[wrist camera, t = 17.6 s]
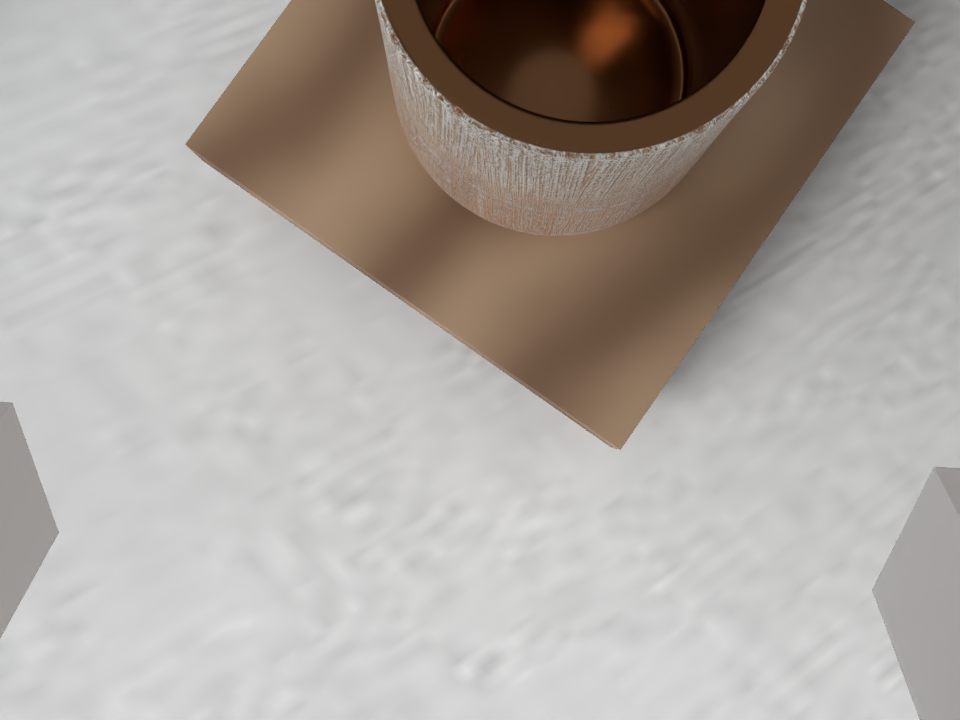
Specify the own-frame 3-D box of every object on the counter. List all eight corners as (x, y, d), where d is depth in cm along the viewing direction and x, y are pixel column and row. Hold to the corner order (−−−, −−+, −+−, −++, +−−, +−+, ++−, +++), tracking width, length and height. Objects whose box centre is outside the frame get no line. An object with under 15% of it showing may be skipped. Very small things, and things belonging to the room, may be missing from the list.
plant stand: (225, 181, 35) (185, 144, 30) (486, -175, 36) (489, -269, 31) (598, 444, 35) (620, 449, 30) (853, 76, 36) (914, 22, 31)
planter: (616, -123, 31) (682, -360, 22) (768, 149, 31) (904, 29, 21) (339, 20, 31) (280, -158, 21) (488, 297, 30) (497, 245, 21)
